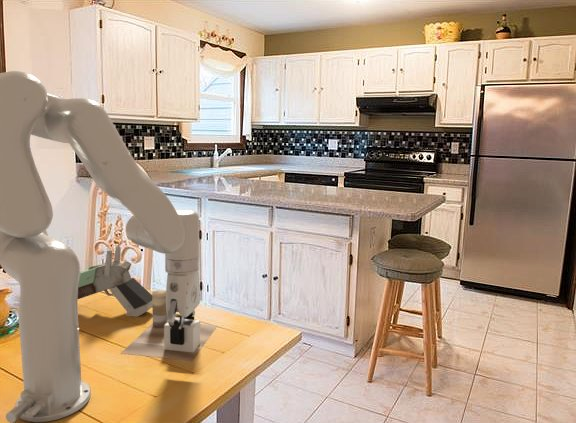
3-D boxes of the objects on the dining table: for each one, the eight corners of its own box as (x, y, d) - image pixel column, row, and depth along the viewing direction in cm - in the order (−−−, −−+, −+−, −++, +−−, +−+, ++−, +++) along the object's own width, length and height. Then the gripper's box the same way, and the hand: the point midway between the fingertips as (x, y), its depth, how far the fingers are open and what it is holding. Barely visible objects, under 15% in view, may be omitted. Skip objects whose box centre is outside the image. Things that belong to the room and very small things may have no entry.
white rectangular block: (193, 352, 102) (193, 327, 101) (164, 349, 103) (164, 324, 102) (199, 343, 107) (200, 319, 106) (172, 340, 108) (172, 317, 107)
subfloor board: (191, 365, 99) (191, 360, 98) (120, 358, 101) (120, 353, 101) (217, 329, 117) (217, 325, 117) (156, 323, 120) (156, 319, 119)
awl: (164, 329, 114) (164, 295, 112) (150, 327, 114) (149, 294, 113) (171, 322, 118) (170, 290, 116) (156, 321, 118) (156, 289, 117)
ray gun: (149, 314, 119) (120, 245, 117) (50, 345, 125) (22, 280, 123) (160, 305, 126) (134, 239, 124) (67, 334, 132) (40, 273, 130)
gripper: (183, 276, 93) (184, 356, 96) (209, 255, 109) (209, 324, 112) (149, 273, 94) (151, 353, 97) (180, 253, 110) (181, 321, 113)
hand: (182, 336), depth 105 cm, fingers open, 5 cm apart
